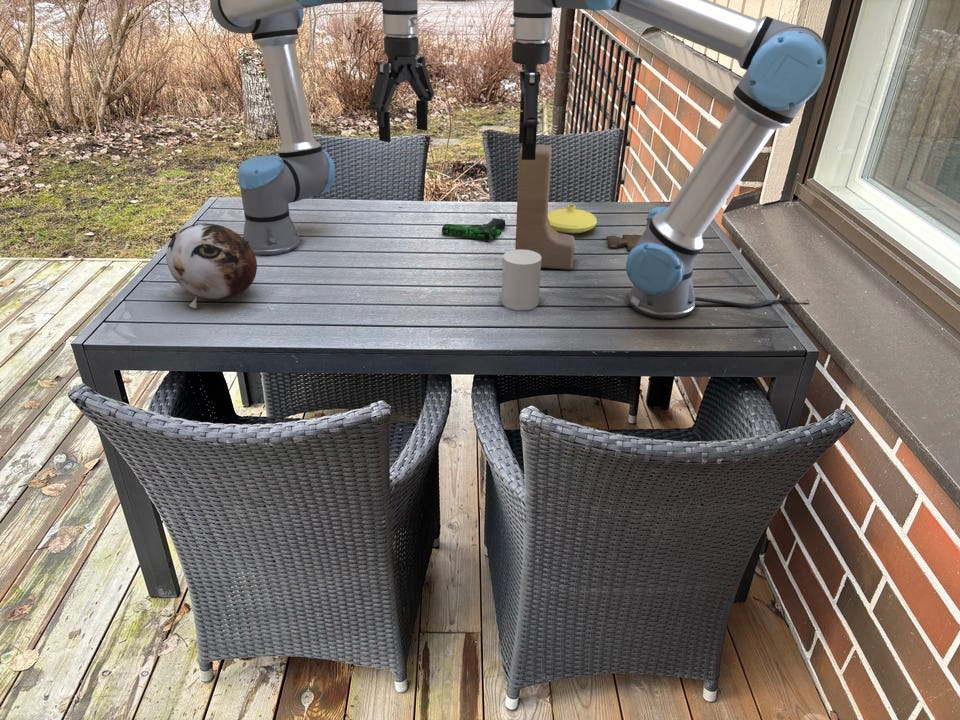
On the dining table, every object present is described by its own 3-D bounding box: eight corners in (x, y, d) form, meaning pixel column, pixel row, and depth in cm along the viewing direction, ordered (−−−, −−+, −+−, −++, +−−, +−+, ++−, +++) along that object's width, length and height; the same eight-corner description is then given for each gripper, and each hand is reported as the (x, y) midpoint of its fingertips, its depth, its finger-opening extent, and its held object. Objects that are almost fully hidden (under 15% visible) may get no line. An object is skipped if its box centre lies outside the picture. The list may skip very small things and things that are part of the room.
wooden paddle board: (703, 254, 196) (694, 240, 205) (704, 248, 195) (696, 235, 204) (609, 250, 196) (605, 237, 205) (610, 244, 196) (605, 232, 204)
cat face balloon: (130, 285, 161) (164, 203, 163) (192, 308, 177) (221, 233, 178) (195, 307, 151) (229, 220, 152) (254, 330, 166) (285, 250, 168)
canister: (530, 313, 164) (533, 267, 158) (495, 305, 167) (496, 259, 161) (544, 298, 171) (547, 253, 165) (510, 291, 174) (511, 246, 168)
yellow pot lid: (559, 216, 220) (561, 193, 217) (605, 227, 212) (608, 204, 209) (532, 230, 209) (533, 207, 206) (580, 242, 201) (582, 218, 198)
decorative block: (572, 270, 184) (582, 153, 169) (514, 266, 186) (519, 150, 171) (572, 259, 191) (582, 146, 175) (516, 255, 192) (521, 143, 177)
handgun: (511, 219, 210) (493, 234, 198) (511, 228, 211) (492, 244, 199) (461, 212, 215) (440, 226, 203) (461, 221, 217) (440, 236, 204)
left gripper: (376, 42, 144) (381, 149, 155) (448, 31, 162) (448, 127, 173) (348, 39, 147) (355, 143, 158) (422, 28, 165) (424, 123, 176)
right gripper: (510, 33, 150) (507, 136, 161) (514, 49, 129) (510, 166, 139) (545, 33, 150) (540, 136, 161) (556, 49, 129) (549, 167, 139)
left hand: (404, 135), depth 166 cm, fingers open, 13 cm apart
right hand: (526, 150), depth 150 cm, fingers open, 13 cm apart
